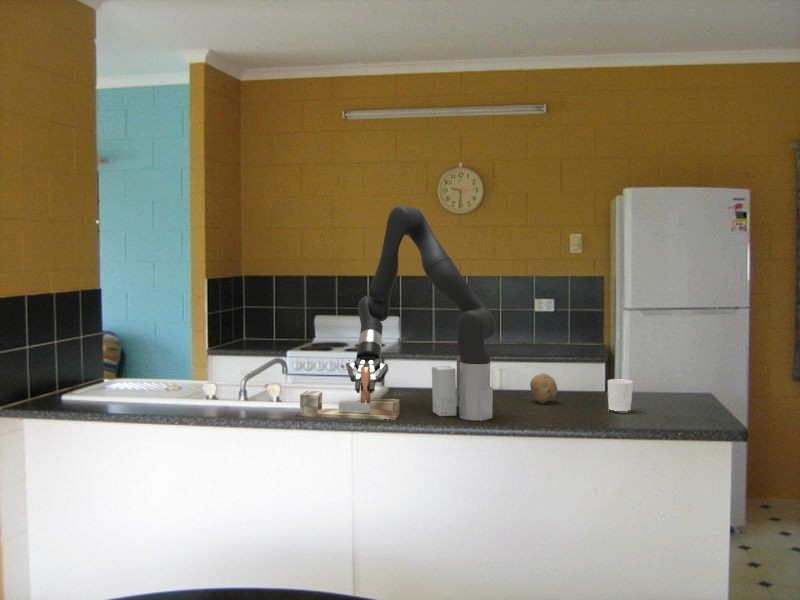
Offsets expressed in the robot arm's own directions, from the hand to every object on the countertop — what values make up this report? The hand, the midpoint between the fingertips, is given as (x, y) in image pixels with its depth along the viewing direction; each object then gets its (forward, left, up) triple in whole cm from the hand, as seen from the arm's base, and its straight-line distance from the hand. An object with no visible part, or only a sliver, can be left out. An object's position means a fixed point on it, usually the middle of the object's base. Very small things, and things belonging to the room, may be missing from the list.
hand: (364, 391), depth 248 cm
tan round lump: (-29, -59, -8) cm, 66 cm away
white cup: (-55, -62, -8) cm, 83 cm away
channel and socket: (+5, +1, -8) cm, 10 cm away
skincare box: (-15, -21, -8) cm, 27 cm away
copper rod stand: (+1, -2, -7) cm, 7 cm away
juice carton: (-14, -37, -8) cm, 40 cm away
